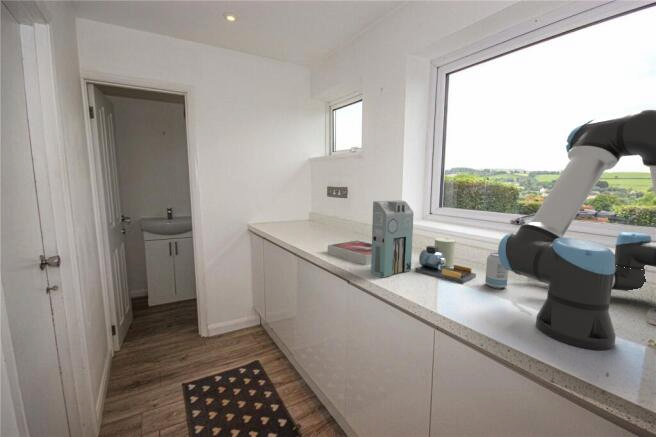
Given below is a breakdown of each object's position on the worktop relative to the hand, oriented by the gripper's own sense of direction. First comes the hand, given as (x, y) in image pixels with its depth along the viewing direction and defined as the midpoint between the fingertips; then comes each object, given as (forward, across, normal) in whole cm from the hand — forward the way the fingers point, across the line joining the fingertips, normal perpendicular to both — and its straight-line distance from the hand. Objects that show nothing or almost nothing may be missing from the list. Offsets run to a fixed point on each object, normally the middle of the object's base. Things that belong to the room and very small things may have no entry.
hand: (520, 270), depth 103 cm
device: (+46, +5, -7) cm, 46 cm away
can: (+23, +26, -7) cm, 35 cm away
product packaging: (+62, +29, -7) cm, 69 cm away
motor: (+24, +9, -6) cm, 27 cm away
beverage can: (+8, 0, -7) cm, 10 cm away
